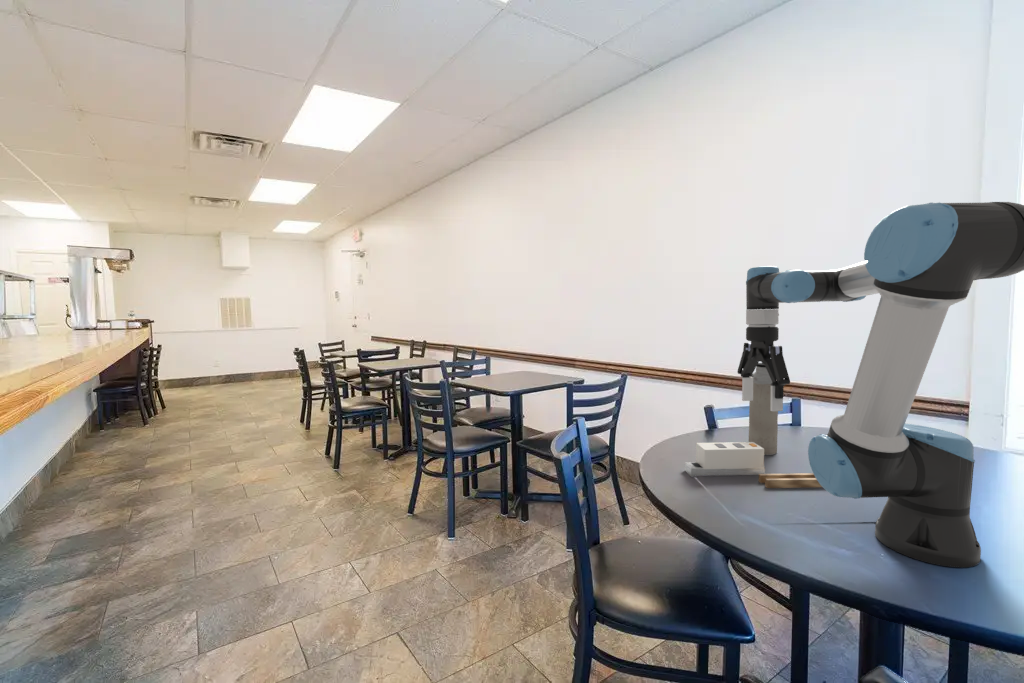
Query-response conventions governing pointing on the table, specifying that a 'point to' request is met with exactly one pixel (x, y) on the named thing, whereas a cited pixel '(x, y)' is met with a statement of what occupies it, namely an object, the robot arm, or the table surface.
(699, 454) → the power strip
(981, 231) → the robot arm
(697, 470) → the keyhole plate
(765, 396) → the thermos bottle
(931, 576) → the table surface
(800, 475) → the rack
